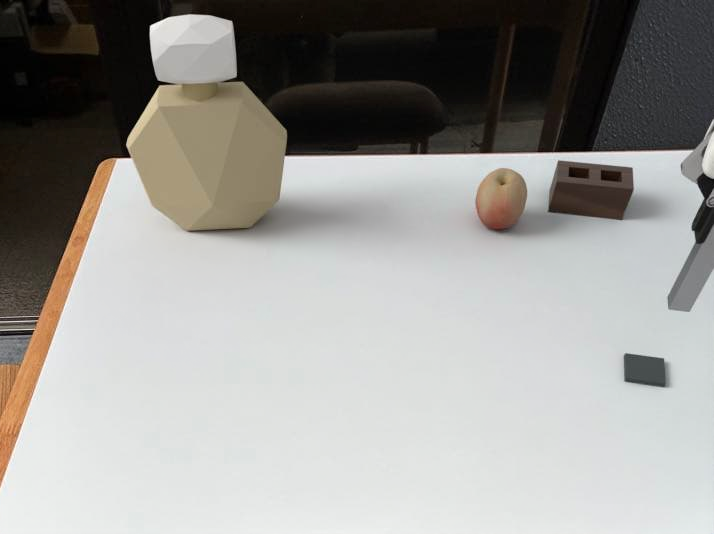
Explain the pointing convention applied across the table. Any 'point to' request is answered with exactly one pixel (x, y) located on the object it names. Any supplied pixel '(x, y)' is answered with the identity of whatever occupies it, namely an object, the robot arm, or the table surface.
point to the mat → (644, 370)
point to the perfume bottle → (205, 131)
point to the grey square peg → (693, 275)
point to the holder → (591, 189)
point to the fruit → (501, 198)
